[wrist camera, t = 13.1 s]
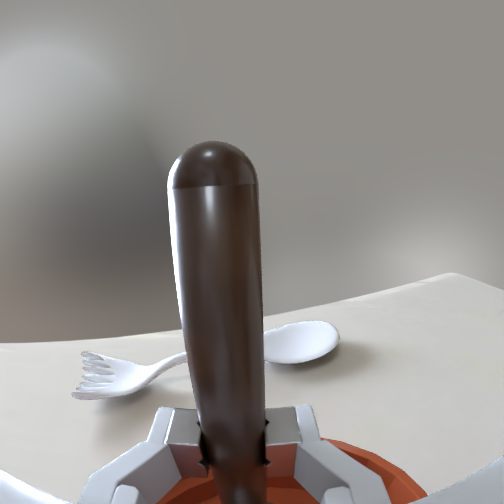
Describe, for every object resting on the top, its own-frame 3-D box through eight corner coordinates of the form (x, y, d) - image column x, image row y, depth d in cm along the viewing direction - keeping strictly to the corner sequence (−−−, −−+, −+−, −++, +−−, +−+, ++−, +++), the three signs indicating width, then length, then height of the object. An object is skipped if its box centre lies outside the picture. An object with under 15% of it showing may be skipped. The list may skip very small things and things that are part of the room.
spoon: (87, 371, 31) (79, 348, 30) (314, 327, 42) (315, 306, 41) (80, 417, 22) (68, 392, 22) (351, 355, 33) (354, 332, 33)
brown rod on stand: (186, 542, 10) (54, 164, 5) (247, 498, 13) (219, 157, 9) (255, 592, 6) (176, 78, 2) (315, 536, 10) (381, 143, 6)
